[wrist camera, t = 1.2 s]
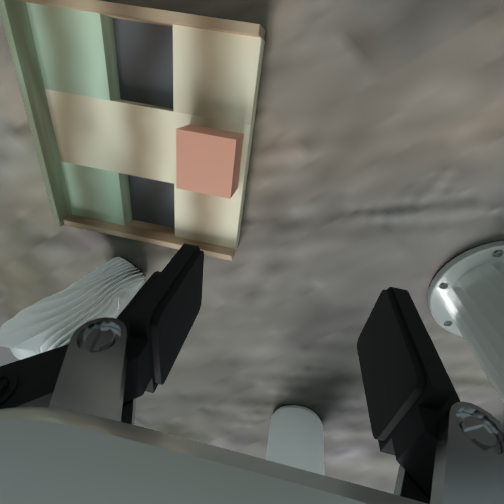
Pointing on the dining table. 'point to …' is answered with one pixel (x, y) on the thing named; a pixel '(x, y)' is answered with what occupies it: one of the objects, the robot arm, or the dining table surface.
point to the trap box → (133, 113)
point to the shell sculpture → (71, 309)
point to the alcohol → (296, 439)
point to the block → (208, 160)
